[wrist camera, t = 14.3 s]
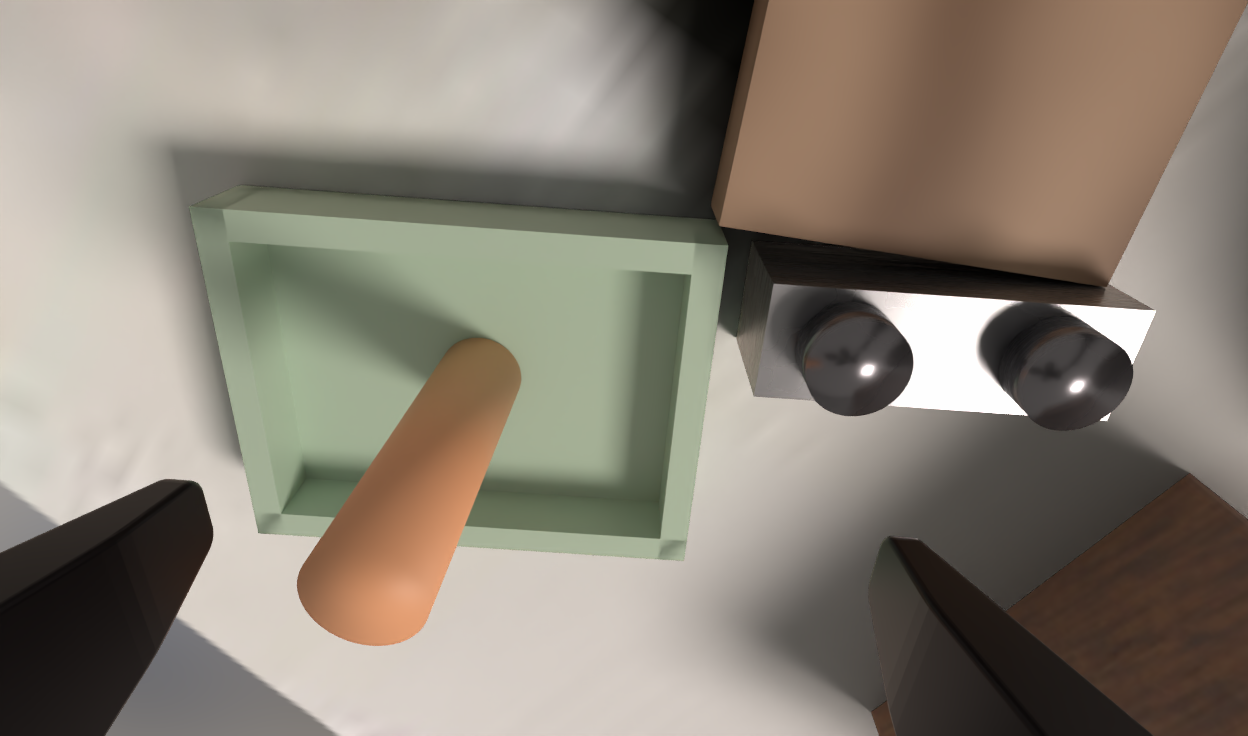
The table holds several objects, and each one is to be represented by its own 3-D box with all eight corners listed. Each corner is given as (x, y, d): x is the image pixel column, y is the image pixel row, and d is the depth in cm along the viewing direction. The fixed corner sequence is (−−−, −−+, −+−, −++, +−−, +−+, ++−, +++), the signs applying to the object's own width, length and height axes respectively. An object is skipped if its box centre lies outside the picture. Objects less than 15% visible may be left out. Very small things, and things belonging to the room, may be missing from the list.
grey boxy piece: (1072, 263, 19) (1192, 331, 15) (1036, 359, 21) (1137, 446, 17) (751, 240, 19) (783, 302, 15) (736, 338, 21) (761, 420, 16)
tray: (717, 219, 19) (728, 245, 17) (679, 511, 24) (683, 560, 21) (239, 184, 19) (188, 206, 17) (293, 485, 23) (258, 533, 21)
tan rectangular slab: (1178, -21, 17) (1261, -27, 15) (1053, 256, 20) (1106, 287, 18) (772, -97, 16) (794, -115, 14) (709, 201, 19) (719, 225, 17)
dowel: (521, 341, 20) (426, 551, 12) (520, 413, 21) (432, 651, 13) (439, 334, 20) (288, 537, 12) (442, 406, 21) (305, 639, 13)
